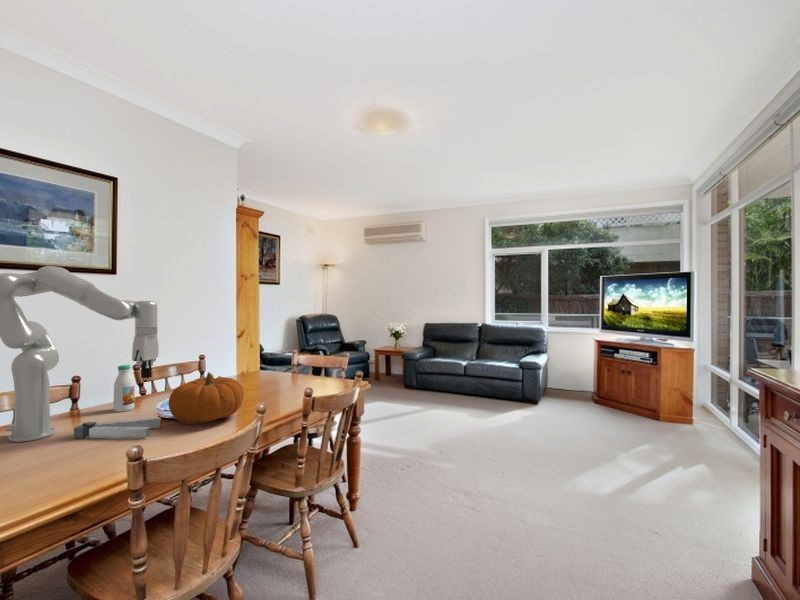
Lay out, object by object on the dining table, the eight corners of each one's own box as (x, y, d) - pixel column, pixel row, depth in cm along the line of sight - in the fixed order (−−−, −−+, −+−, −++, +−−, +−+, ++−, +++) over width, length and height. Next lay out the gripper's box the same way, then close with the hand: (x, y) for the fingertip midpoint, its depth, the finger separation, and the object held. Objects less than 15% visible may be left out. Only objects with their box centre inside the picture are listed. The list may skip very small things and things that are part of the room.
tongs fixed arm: (74, 438, 144) (74, 426, 144) (88, 432, 150) (88, 420, 150) (144, 439, 144) (144, 426, 144) (155, 433, 150) (155, 421, 150)
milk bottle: (114, 413, 174) (114, 367, 174) (112, 409, 180) (112, 365, 180) (135, 410, 180) (135, 365, 179) (133, 406, 185) (133, 363, 185)
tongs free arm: (95, 434, 148) (95, 424, 147) (97, 432, 150) (97, 422, 150) (159, 427, 155) (159, 418, 155) (160, 425, 157) (160, 417, 157)
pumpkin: (237, 406, 186) (237, 364, 186) (250, 423, 163) (250, 374, 163) (167, 416, 171) (167, 369, 171) (170, 435, 148) (170, 381, 148)
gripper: (148, 330, 166) (148, 373, 167) (123, 333, 151) (124, 381, 152) (166, 330, 166) (166, 374, 167) (143, 333, 151) (143, 381, 152)
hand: (146, 377), depth 159 cm, fingers closed
